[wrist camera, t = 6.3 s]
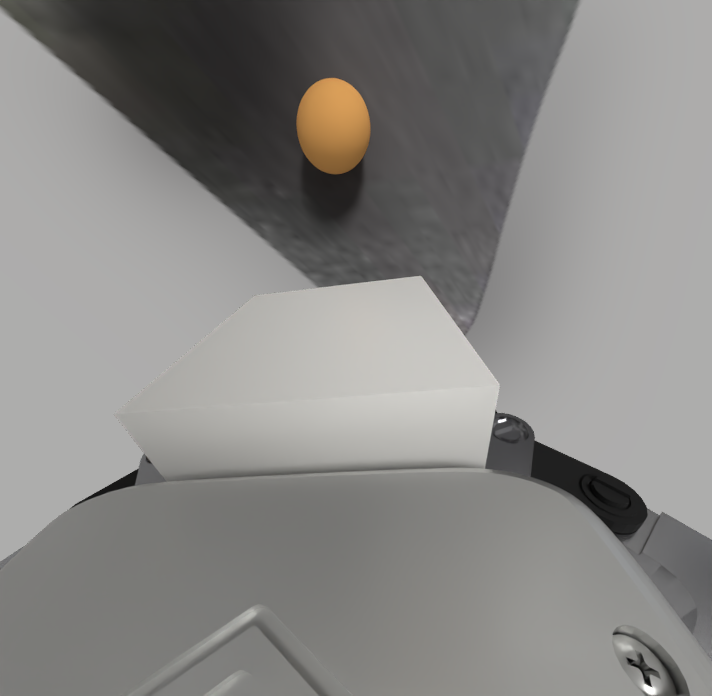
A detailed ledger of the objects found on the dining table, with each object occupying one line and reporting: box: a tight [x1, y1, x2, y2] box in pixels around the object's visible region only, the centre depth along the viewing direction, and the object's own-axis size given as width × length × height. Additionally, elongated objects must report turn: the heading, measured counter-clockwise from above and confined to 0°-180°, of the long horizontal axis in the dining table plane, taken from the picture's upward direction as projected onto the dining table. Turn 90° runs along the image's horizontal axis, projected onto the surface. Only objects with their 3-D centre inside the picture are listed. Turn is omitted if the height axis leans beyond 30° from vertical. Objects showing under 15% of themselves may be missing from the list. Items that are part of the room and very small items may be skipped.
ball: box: [297, 78, 370, 174], centre depth 18 cm, size 5×5×5 cm
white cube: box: [114, 276, 500, 482], centre depth 10 cm, size 8×8×8 cm
